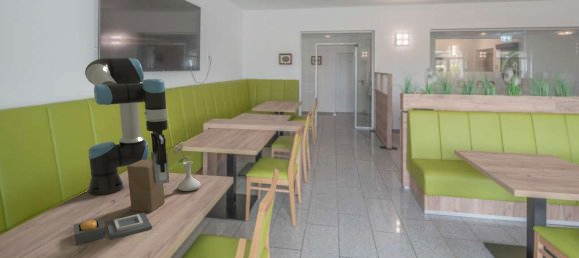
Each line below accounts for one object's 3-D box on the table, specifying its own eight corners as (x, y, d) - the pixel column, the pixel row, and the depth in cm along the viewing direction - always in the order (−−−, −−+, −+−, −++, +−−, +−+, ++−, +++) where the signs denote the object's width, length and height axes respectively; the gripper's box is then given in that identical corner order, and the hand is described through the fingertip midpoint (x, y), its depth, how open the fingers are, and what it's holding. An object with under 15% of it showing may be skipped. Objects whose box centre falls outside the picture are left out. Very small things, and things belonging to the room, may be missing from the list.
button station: (75, 234, 122) (73, 224, 122) (102, 227, 127) (101, 218, 127) (75, 245, 115) (74, 234, 114) (105, 237, 120) (104, 227, 119)
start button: (81, 230, 122) (80, 222, 121) (96, 226, 124) (95, 218, 124) (81, 235, 117) (80, 227, 117) (97, 231, 120) (96, 224, 120)
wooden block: (151, 212, 140) (147, 167, 137) (130, 210, 142) (126, 165, 139) (165, 203, 150) (161, 160, 146) (145, 201, 152) (141, 159, 148)
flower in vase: (191, 183, 175) (188, 137, 170) (205, 187, 169) (203, 140, 164) (169, 190, 165) (166, 141, 160) (184, 196, 158) (181, 145, 153)
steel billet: (153, 181, 133) (150, 152, 130) (166, 178, 135) (164, 150, 133) (156, 184, 128) (153, 155, 126) (169, 182, 131) (167, 153, 129)
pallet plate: (106, 224, 130) (105, 218, 130) (144, 215, 138) (144, 210, 138) (110, 239, 119) (110, 233, 118) (152, 228, 127) (151, 223, 126)
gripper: (141, 117, 132) (146, 173, 137) (151, 124, 118) (156, 186, 122) (161, 115, 136) (165, 169, 141) (173, 122, 122) (177, 182, 126)
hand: (161, 177), depth 132 cm, fingers closed on steel billet, 5 cm apart
